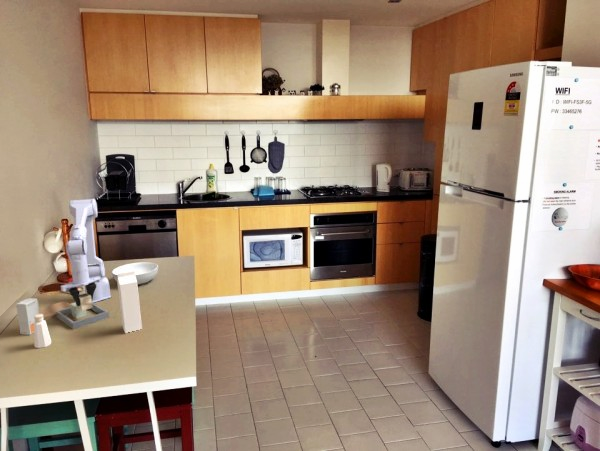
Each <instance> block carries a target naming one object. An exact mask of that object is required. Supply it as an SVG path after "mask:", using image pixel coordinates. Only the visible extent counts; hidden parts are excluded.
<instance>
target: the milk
mask: <svg viewBox="0 0 600 451" xmlns="http://www.w3.org/2000/svg"><path fill="white" fill-rule="evenodd" d="M116 282H117V283H116V284H117V288H118V289H117V292H118V299H119V308H120V315H121V324H122V325H121V326H122V328H123V329H122V330H123V332H124V333H125V334H129V333H128V332H130V333H133V332H132V331H135V332H137V331H136V330H139V331H141V330H140V329H142V330H143V324H142V323H143V322H142V317H141V316H142V315H141V307H140V305H141V304H140V295H139V289H138V285H137V280H136V276H135V272H134V271H132V272H126V273H120V274H118V279H117V281H116Z"/></svg>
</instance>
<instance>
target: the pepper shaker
mask: <svg viewBox="0 0 600 451" xmlns="http://www.w3.org/2000/svg"><path fill="white" fill-rule="evenodd" d="M34 318H35V322H34V333H33V344H34V348H37V349H42V348H46V347H49V346H51V344H52V338H51V335H50V332H49V328H48V325H47V320H44V318H43V314H37V315H35V316H34Z"/></svg>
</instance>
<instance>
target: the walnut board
mask: <svg viewBox="0 0 600 451" xmlns="http://www.w3.org/2000/svg"><path fill="white" fill-rule="evenodd" d="M70 304H71V303H68V302H67V301H65V300H64V301H63V300H62V301H60V302H56V303H53V304H52V303H51V304H49V305H45V306H42V307H39V314H43V318H44V320H45V321H47V320H50V319H51V320H52V319H54V318H57V315H56V311H59V310H63V309H66V308H70V307H71V306H70Z"/></svg>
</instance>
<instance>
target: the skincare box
mask: <svg viewBox="0 0 600 451" xmlns="http://www.w3.org/2000/svg"><path fill="white" fill-rule="evenodd" d="M38 300H39V299H38V298H31V297H27V298H25V299H23V300H21V301H19V302H17V303H16V304H15V307H16V312H17V314H16V315H17V319H18V325H19V331H20V335H25V336H31V335H32V334H34V322H35V318H34V316H35V315H37V314H39V308H40V307H39V301H38Z"/></svg>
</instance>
